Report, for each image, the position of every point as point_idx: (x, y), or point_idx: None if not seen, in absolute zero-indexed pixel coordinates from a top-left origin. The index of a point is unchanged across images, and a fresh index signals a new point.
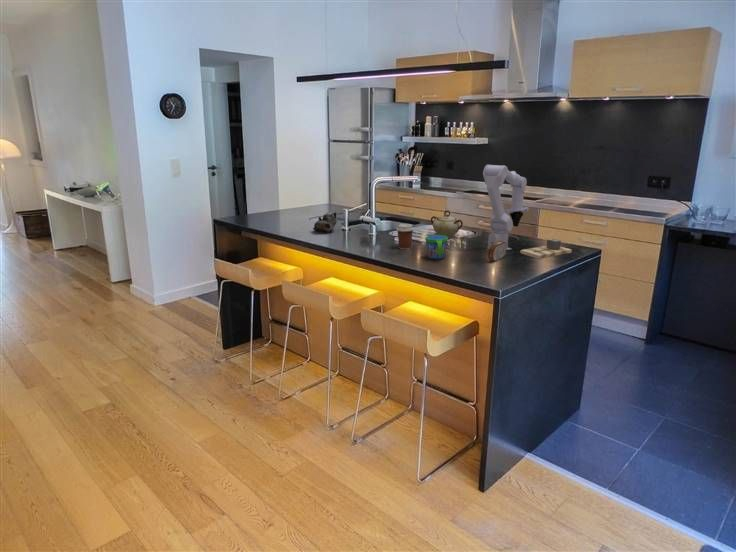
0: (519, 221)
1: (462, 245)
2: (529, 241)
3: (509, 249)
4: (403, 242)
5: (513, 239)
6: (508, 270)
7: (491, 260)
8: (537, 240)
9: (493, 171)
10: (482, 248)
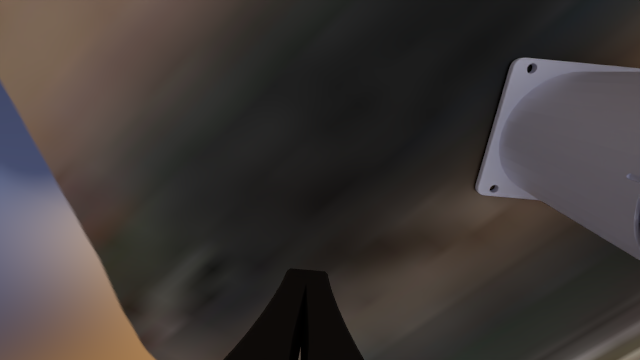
0: (263, 314)
1: (625, 348)
2: (157, 172)
3: (540, 59)
4: None
5: (223, 277)
6: None
7: None
8: (75, 157)
9: None
10: None
